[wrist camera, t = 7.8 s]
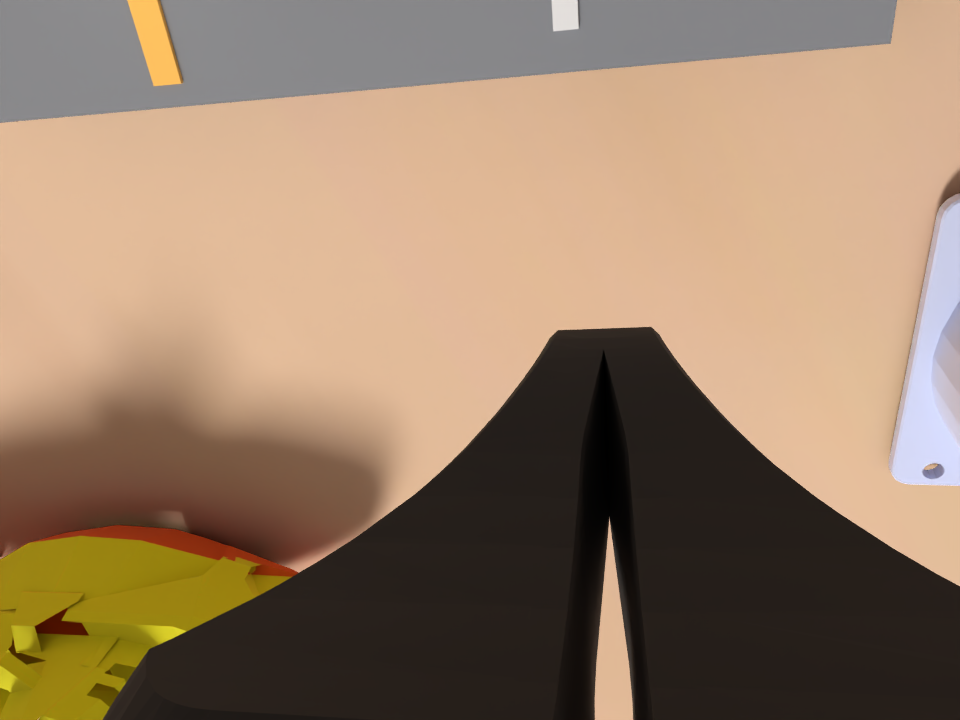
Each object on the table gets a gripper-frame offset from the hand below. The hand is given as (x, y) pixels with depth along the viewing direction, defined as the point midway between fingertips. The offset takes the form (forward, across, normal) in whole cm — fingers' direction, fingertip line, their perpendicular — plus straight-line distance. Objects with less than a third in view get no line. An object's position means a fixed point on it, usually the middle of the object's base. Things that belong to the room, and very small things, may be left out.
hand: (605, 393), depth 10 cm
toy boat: (+10, +18, +14) cm, 24 cm away
